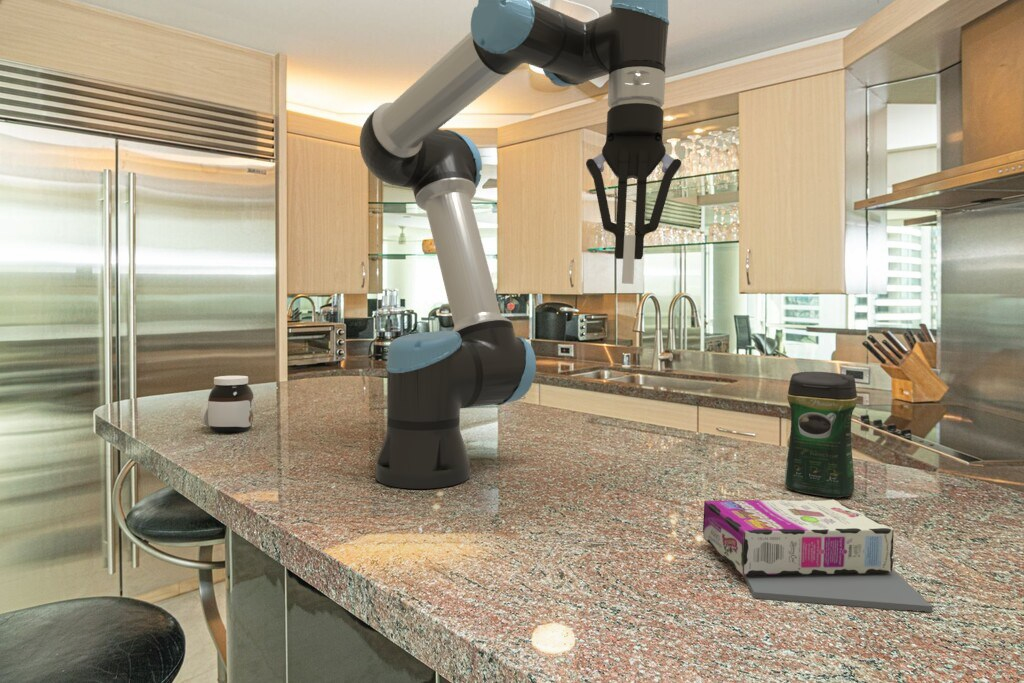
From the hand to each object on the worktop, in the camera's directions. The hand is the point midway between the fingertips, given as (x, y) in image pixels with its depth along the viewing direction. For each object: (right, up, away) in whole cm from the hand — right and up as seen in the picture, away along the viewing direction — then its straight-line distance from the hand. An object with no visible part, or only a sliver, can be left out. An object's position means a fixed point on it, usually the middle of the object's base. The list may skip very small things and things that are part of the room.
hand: (627, 283), depth 90 cm
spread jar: (-78, -27, +51) cm, 98 cm away
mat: (+17, -33, -20) cm, 42 cm away
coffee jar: (+32, -32, +11) cm, 46 cm away
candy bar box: (+7, -30, -18) cm, 35 cm away
